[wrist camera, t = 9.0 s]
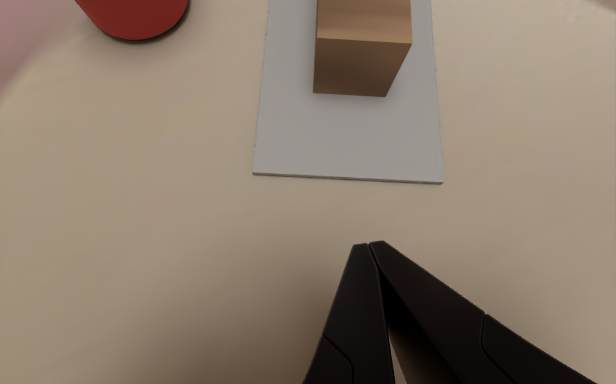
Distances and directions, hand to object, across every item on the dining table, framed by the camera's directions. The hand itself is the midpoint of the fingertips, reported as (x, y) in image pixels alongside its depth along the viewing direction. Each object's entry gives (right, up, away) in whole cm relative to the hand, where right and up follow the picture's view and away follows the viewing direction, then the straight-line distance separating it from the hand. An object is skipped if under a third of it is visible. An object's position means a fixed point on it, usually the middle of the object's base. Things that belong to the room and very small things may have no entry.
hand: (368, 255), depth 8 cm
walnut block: (+1, +8, +8) cm, 11 cm away
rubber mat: (+1, +11, +11) cm, 15 cm away
